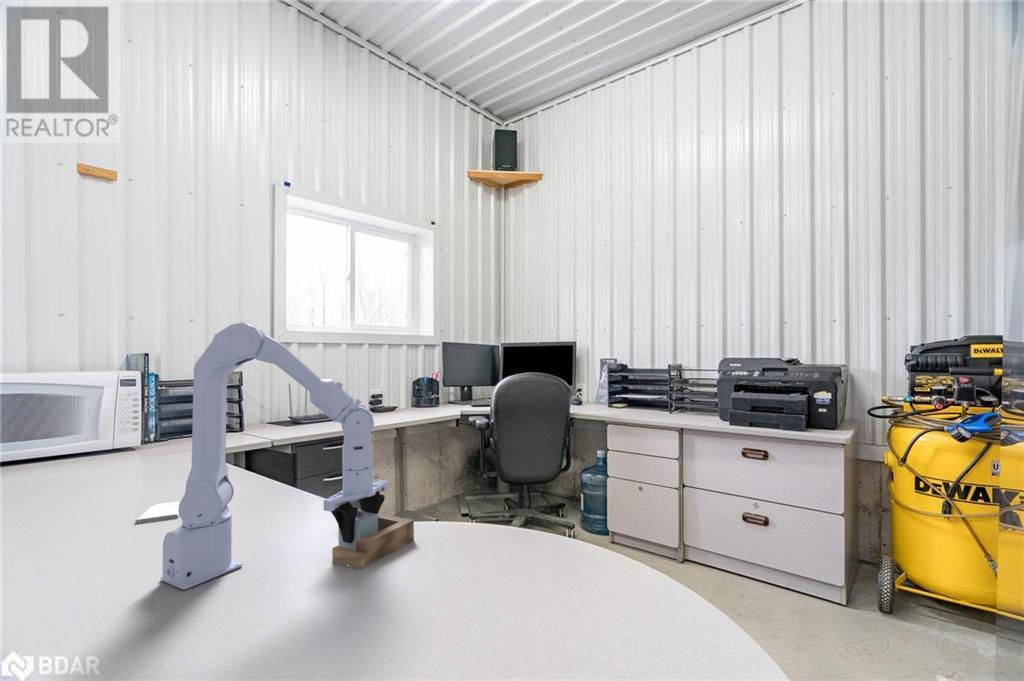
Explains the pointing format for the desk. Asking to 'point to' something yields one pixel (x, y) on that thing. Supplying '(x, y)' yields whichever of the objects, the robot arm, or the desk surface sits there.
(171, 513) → the external hard drive
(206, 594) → the desk surface
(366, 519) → the cabinet block
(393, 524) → the wooden frame
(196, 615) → the desk surface
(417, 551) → the desk surface
